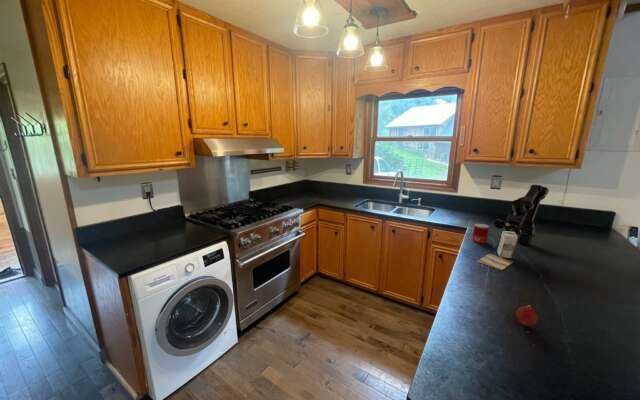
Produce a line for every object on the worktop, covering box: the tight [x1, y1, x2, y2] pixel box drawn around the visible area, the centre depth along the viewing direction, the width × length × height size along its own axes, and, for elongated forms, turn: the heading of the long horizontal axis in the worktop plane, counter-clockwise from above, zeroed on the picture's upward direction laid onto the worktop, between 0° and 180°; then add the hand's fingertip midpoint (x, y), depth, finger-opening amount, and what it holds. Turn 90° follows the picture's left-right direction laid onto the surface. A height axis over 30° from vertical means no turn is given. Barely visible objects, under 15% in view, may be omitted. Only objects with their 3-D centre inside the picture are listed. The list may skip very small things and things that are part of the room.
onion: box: [515, 304, 538, 327], centre depth 91 cm, size 6×6×8 cm
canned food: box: [472, 223, 490, 244], centre depth 168 cm, size 8×8×11 cm
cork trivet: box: [476, 253, 514, 271], centre depth 140 cm, size 16×12×1 cm
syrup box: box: [496, 230, 518, 260], centre depth 145 cm, size 6×6×14 cm
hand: (507, 239), depth 146 cm, fingers closed
